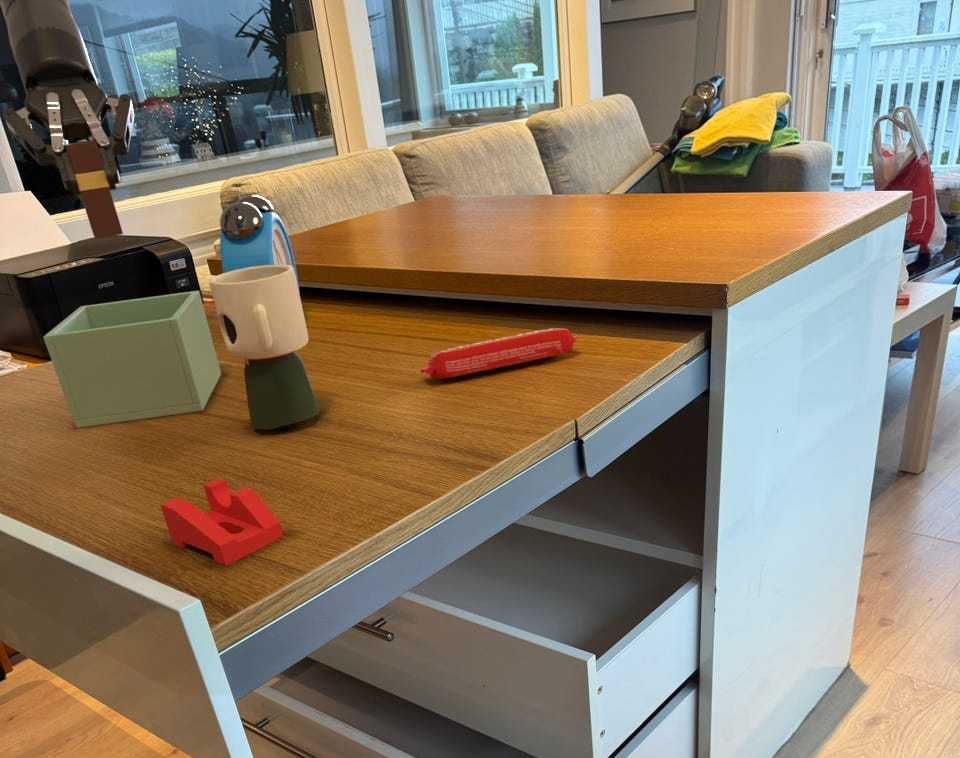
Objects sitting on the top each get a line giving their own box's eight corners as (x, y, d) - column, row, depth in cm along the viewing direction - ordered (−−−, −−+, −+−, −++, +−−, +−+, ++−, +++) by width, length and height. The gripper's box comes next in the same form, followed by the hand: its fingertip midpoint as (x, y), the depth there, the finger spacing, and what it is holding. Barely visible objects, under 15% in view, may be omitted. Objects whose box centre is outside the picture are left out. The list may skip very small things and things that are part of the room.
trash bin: (76, 428, 87) (42, 336, 83) (108, 389, 98) (80, 306, 93) (202, 411, 88) (176, 318, 83) (221, 374, 98) (199, 290, 93)
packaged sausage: (569, 348, 92) (567, 318, 90) (583, 357, 89) (582, 326, 87) (419, 379, 88) (415, 349, 87) (429, 389, 85) (425, 358, 84)
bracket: (173, 543, 63) (160, 504, 61) (229, 516, 66) (218, 478, 64) (225, 565, 59) (213, 524, 57) (283, 536, 62) (273, 496, 60)
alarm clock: (289, 341, 107) (258, 203, 98) (238, 347, 107) (203, 210, 99) (306, 314, 118) (280, 188, 109) (260, 319, 118) (230, 194, 110)
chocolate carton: (92, 234, 101) (64, 144, 96) (120, 229, 102) (93, 139, 97) (94, 239, 98) (65, 145, 93) (123, 234, 99) (96, 141, 94)
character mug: (246, 412, 86) (209, 268, 79) (320, 398, 87) (290, 256, 80) (248, 450, 77) (206, 293, 70) (330, 435, 78) (297, 278, 71)
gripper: (-29, 32, 93) (14, 170, 90) (110, 18, 97) (156, 150, 94) (-6, 92, 100) (34, 222, 97) (122, 77, 104) (165, 201, 101)
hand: (94, 186), depth 96 cm, fingers closed on chocolate carton, 3 cm apart
